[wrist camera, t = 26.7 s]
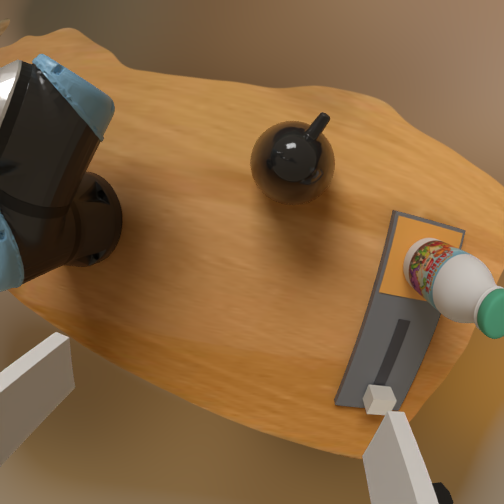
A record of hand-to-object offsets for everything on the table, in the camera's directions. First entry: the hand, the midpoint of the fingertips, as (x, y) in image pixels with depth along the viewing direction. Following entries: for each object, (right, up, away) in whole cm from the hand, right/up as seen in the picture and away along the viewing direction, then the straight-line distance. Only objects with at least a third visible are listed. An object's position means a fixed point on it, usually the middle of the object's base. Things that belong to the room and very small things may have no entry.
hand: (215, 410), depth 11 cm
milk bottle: (+26, +4, +30) cm, 40 cm away
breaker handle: (+22, -17, +35) cm, 44 cm away
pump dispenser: (+7, +18, +31) cm, 37 cm away
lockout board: (+24, -5, +34) cm, 42 cm away
